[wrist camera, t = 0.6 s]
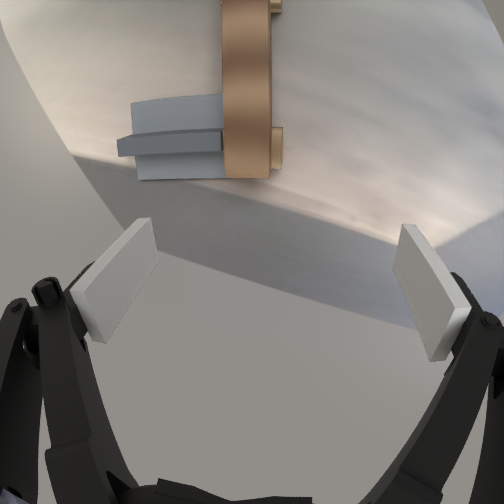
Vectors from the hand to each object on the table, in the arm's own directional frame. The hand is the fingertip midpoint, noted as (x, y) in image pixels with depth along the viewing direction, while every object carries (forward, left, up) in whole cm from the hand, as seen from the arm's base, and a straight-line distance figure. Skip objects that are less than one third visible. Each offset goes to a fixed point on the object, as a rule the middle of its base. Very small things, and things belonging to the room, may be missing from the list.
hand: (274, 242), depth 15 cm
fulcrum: (-3, -12, -21) cm, 25 cm away
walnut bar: (-11, -3, -17) cm, 21 cm away
